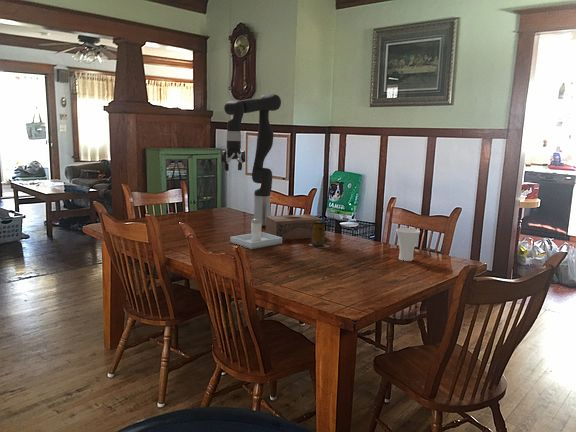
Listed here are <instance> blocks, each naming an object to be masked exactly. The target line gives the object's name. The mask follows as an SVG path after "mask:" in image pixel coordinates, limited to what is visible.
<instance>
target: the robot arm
mask: <svg viewBox="0 0 576 432" xmlns="http://www.w3.org/2000/svg"><path fill="white" fill-rule="evenodd" d="M281 104H282V101H281V97H280V96H279V95H278V94H273V93H268V94H267V93H265V94H262V95H261V97H260V98H249V99H247V98H246V99H242V100H231V101H227V102H226V103H225V104H224V106H223V107H224V108H223V110H224V112H225V113H226V114H227V115H230V116H232V119H229V120H227V124H226V128H227V131H226V150H222V151H221V158H220V160H221V161H220V162H221V163H223V164H224V165H223V166H224V171H225V172H228V171H229V165H230V164H229V163H230V161H232V160H236V161H237V170H238V171H242V170H243V163H245V162H246V151H245V150H241V149H242V147H241V146H242V133H241V130H242V129H241V126H242V120H243V117H244V114H248V113H254V112H258V111H259V113H258V114H259V115H258V117H259V119H258V129H257V136H256V138H257V139H256V149H255V155H254V159H253V160H254V161H253V166H252V171H251V180H252V182H253V183H254V184H255V183H256V184H260V188H258V189H255V190H254V195H253V197H254V198H253V199H254V200H253V219H261V222H262V227H263V226H264V227H266V216H272V208H271V193H272V185H273V172H272V169H270V168H267V167H264V164H265V162H264V161H265V159H266V157H267V155H268V154H269V153H270V151H271V149H272V147H273V143H274V130H273V129H272V126H271V124H270V120H269V118H270V117H269V116H270V114H269V113H270V112H273V111H278V110H279V109H280V108H281Z"/></svg>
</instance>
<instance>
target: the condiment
mask: <svg viewBox="0 0 576 432" xmlns="http://www.w3.org/2000/svg"><path fill="white" fill-rule="evenodd" d="M325 233H326V228H325V222H324V221H323V220H321V221H315V222H314V227H313V236H312V239H311V241H312V242H311V243H309V244H308V245H309V246H311V247H315V248H319V249H323V248H330V247H331V246H330V245H328V244H325V239H326V238H325V236H326V235H325Z"/></svg>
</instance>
